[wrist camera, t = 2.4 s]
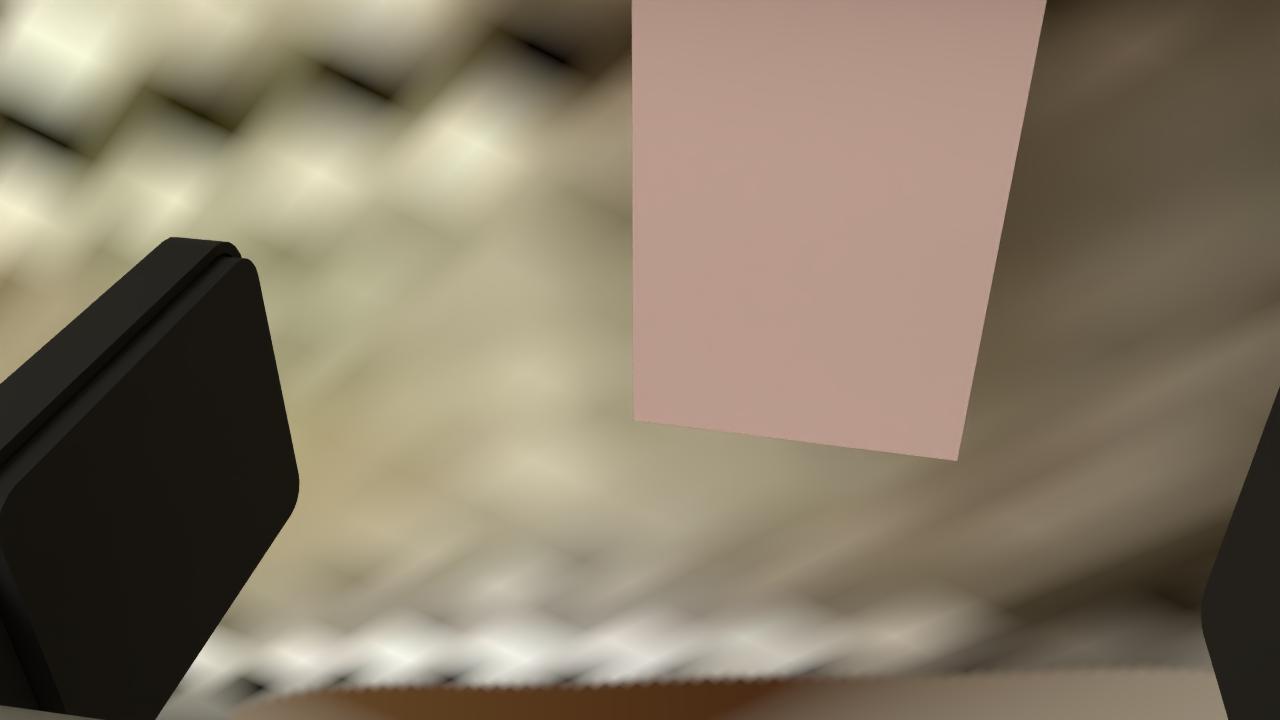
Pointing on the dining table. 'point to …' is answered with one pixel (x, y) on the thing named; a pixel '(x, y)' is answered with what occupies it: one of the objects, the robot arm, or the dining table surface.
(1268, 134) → the dining table surface
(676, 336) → the tray
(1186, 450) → the dining table surface
